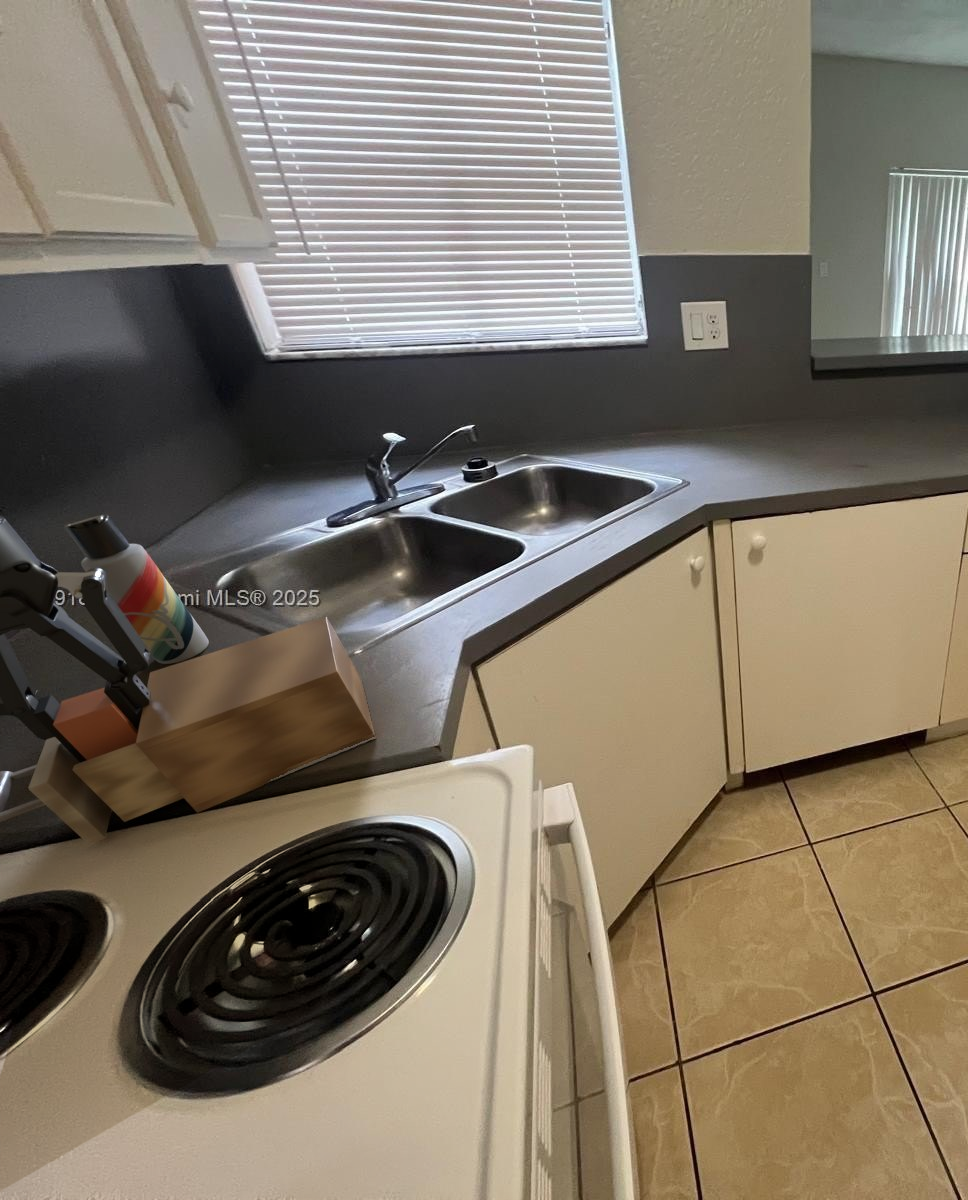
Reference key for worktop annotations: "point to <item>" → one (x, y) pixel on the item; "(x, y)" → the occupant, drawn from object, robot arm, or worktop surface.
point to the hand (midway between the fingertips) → (121, 742)
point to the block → (94, 724)
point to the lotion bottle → (139, 590)
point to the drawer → (91, 788)
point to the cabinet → (253, 712)
